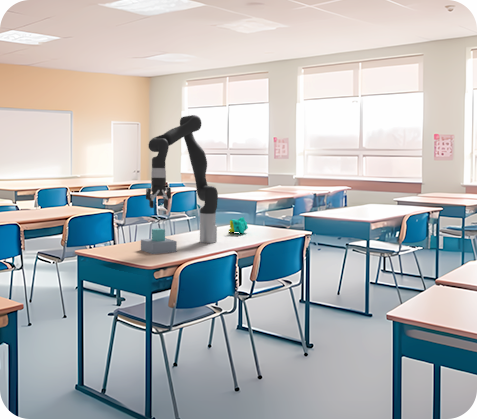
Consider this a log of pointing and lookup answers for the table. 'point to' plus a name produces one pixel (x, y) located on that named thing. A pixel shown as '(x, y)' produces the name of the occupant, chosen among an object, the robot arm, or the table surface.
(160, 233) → the teal block
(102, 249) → the table surface
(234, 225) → the teal lumpy shape
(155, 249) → the slate block
